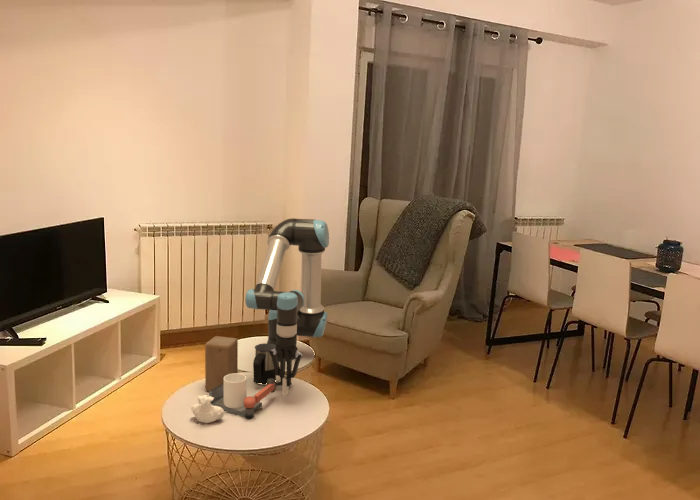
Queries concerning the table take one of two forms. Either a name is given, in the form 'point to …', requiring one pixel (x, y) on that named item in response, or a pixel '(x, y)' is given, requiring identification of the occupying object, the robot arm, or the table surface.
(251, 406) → the lever
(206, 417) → the bust
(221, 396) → the metal tray
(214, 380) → the wooden block
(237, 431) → the table surface
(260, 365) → the milk frother
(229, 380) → the mug
